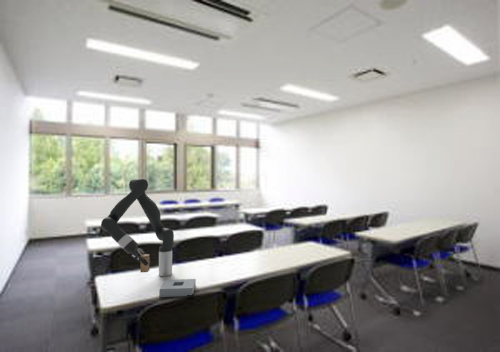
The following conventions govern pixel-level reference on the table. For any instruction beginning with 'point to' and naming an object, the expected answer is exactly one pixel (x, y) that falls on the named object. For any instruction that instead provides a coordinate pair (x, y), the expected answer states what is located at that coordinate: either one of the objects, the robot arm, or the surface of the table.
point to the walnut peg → (143, 267)
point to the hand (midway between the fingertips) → (148, 263)
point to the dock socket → (177, 287)
